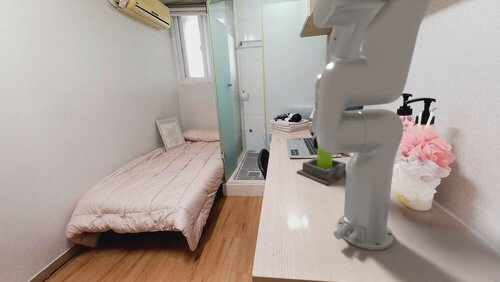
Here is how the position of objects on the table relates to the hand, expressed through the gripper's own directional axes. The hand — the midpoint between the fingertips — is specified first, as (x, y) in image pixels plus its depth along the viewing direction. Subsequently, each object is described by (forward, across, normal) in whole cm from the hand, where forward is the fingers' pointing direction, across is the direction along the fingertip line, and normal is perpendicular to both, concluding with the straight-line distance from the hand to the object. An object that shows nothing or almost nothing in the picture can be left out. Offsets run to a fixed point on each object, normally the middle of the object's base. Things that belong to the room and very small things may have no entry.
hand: (324, 149), depth 86 cm
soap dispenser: (+10, 0, 0) cm, 10 cm away
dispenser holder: (+11, 0, 0) cm, 11 cm away
